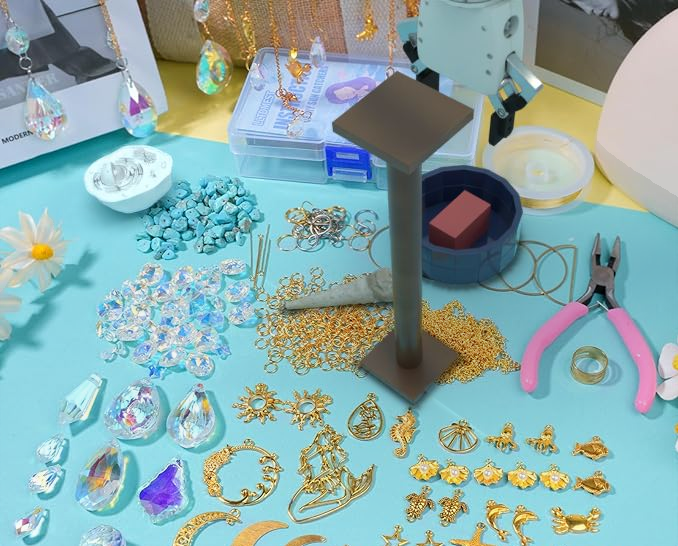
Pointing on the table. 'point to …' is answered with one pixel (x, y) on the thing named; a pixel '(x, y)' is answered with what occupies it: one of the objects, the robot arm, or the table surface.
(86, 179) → the cell model
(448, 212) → the dusty pink block
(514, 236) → the pot
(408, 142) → the stand
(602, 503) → the table surface
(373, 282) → the seashell
